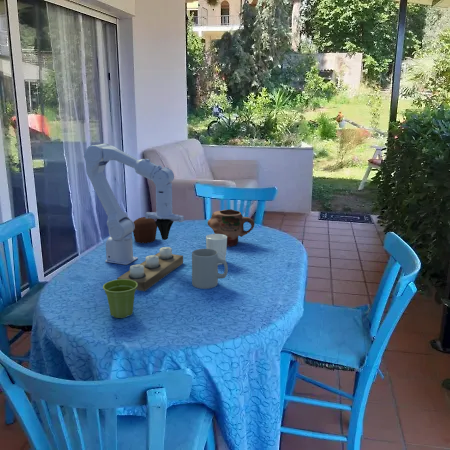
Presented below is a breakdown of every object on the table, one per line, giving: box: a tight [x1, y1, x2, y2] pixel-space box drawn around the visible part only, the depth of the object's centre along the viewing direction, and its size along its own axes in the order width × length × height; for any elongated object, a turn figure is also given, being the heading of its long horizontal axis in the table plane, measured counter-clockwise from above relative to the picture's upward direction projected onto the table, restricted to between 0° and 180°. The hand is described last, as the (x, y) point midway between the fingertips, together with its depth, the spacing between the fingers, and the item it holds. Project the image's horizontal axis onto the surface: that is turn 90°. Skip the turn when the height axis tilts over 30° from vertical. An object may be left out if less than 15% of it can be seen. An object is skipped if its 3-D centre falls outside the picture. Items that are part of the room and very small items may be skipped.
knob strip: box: [116, 251, 184, 292], centre depth 156 cm, size 10×28×3 cm, turn 159°
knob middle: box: [145, 254, 159, 268], centre depth 156 cm, size 4×4×3 cm
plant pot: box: [102, 279, 138, 319], centre depth 126 cm, size 9×9×9 cm
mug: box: [191, 248, 229, 290], centre depth 147 cm, size 12×8×11 cm
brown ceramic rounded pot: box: [207, 208, 256, 247], centre depth 190 cm, size 20×12×14 cm, turn 85°
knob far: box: [159, 246, 173, 259], centre depth 165 cm, size 4×4×3 cm
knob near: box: [129, 263, 144, 278], centre depth 146 cm, size 4×4×3 cm
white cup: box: [205, 233, 228, 266], centre depth 168 cm, size 8×8×10 cm
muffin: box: [132, 216, 158, 244], centre depth 194 cm, size 12×11×10 cm
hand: (164, 239), depth 163 cm, fingers closed
